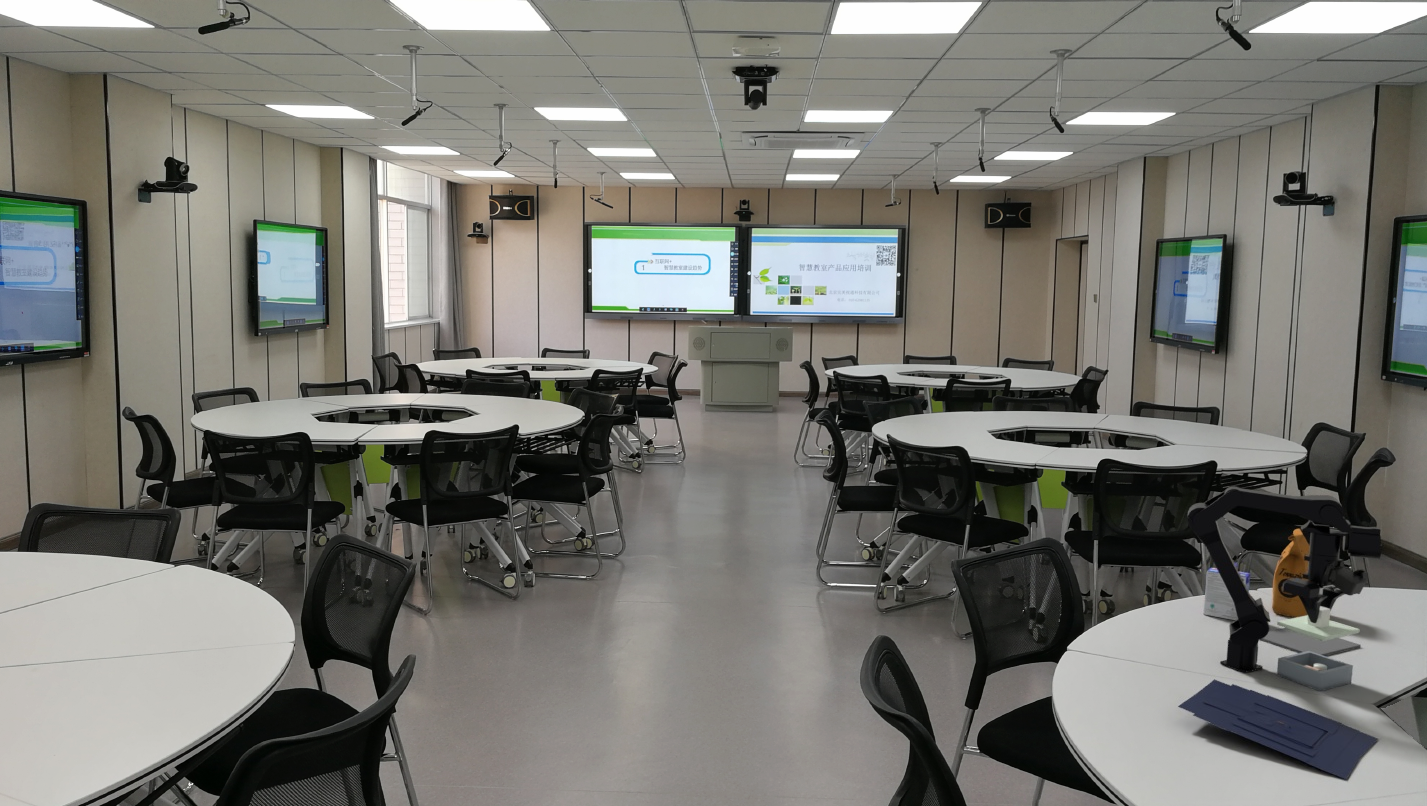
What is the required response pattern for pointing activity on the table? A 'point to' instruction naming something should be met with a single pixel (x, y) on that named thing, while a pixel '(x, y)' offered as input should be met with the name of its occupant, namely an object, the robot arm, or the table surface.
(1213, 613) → the ink cartridge box
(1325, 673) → the storage box
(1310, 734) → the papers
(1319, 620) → the lid
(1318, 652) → the rubber mat
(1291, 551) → the coffee package
